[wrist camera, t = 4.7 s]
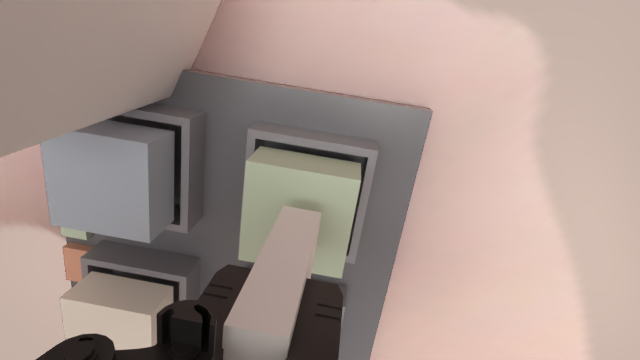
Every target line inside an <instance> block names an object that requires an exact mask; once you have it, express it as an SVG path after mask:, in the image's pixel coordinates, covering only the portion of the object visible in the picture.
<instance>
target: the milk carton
mask: <svg viewBox="0 0 640 360" xmlns="http://www.w3.org/2000/svg"><path fill="white" fill-rule="evenodd" d="M221 1H222V0H0V157H2V156H5V155H8V154H11V153H13V152H16V151H19V150H22V149H25V148H27V147H30V146H33V145H36V144H39V143H41V142H44V141H47V140H50V139H53V138H56V137H58V136H61V135H64V134H67V133H70V132H72V131H75V130H78V129H81V128H84V127H87V126H89V125H92V124H95V123H98V122H101V121H103V120H106V119H109V118H112V117H115V116H117V115H120V114H123V113H126V112H129V111H132V110H134V109H137V108H140V107H143V106H146V105H148V104H151V103H154V102H157V101H160V100H162V99H165V98H168V97H170V96H171V95H172V93H173V91H174V88H175V86H176V84H177V82H178V80H179V77H180V75H181V73H182V71H183V70H190V69H191V68H192V66H193V64H194V61H195V59H196V57H197V55H198V53H199V50H200V48H201V46H202V44H203V41H204V39H205V37H206V35H207V33H208V30H209V28H210V26H211V24H212V21H213V19H214V17H215V15H216V12H217V10H218V8H219V6H220V3H221Z"/></svg>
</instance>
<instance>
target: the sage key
mask: <svg viewBox="0 0 640 360" xmlns="http://www.w3.org/2000/svg"><path fill="white" fill-rule="evenodd" d="M360 184H361V163H357V162H351V161H345V160H339V159H333V158H328V157H322V156H316V155H310V154H304V153H298V152H292V151H287V150H281V149H275V148H269V147H263V146H260V147H259V148H258V149H257V150H256V151H255V152H254V153H253V154H252V155H251V156H250V157H249V158H248V159H247V160H246V167H245V179H244V192H243V205H242V217H241V230H240V242H239V255H238V260H243V261H248V262H254V263H255V262H256V260H257V258H258V256H259V254H260V252H261V250H262V248H263V246H264V244H265V242H266V240H267V238H268V236H269V234H270V232H271V230H272V228H273V226H274V224H275V222H276V220H277V218H278V216H279V214H280V212H281V210H282V208H283V206H288V207H294V208H299V209H305V210H310V211H316V212H321V213H322V214H321V220H320V226H319V232H318V238H317V244H316V250H315V256H314V262H313V268H312V273H313V274H319V275H324V276H330V277H335V278H340V279H342V274H343V269H344V264H345V259H346V254H347V249H348V244H349V239H350V234H351V229H352V224H353V219H354V214H355V209H356V204H357V199H358V194H359V189H360Z"/></svg>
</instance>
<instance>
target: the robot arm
mask: <svg viewBox="0 0 640 360" xmlns="http://www.w3.org/2000/svg"><path fill="white" fill-rule="evenodd" d="M321 214H322V213H321V212H316V211H310V210H305V209H299V208H294V207H288V206H283V208H282V210H281V212H280V214H279V216H278V218H277V220H276V222H275V224H274V226H273V228H272V230H271V232H270V234H269V236H268V238H267V240H266V242H265V244H264V246H263V248H262V250H261V252H260V254H259V256H258V258H257V260H256V262H255V264H254V266H253V268H252V269H251V268H246V267H240V266H235V265H230V264H228V265H226V266H225V267H223V268H222V269H220V270H219V271H217V272H216V273H215V274H214V276H213V277H212V279H211V281H210V282H209V285H207V287H206V288H205V290H204V291H203V294H201V296H200V297H199V299H198V300H183V301H177V302H174V303H172V304H170V305H168V306H165V307H164V308H163V309H162V310H161V311H159V312H158V313H157V344H156V345H154V346H151V347H146V348H140V349H126V350H115V347H114V343H113V341H112V340H111V339H109V338H108V337H107V336H104V335H100V334H96V333H94V334H82V335H78V336H75V337H71V338H69V339H67V340H65V341H63V342H61V343H59V344H58V345H56V346H55V347H53V348H52V349H50V350H49V351H47V352H46V353H45V354H43V355H42V356H40V357H39V358H38V359H36V360H338V357H339V345H340V333H341V319H342V308H343V294H342V292H341V290H340V288H339V286H338V284H334V283H329V282H324V281H319V280H314V279H310V278H311V274H312V268H313V262H314V256H315V250H316V244H317V238H318V232H319V226H320V220H321Z"/></svg>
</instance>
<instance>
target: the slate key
mask: <svg viewBox="0 0 640 360" xmlns="http://www.w3.org/2000/svg"><path fill="white" fill-rule="evenodd" d="M174 136H175V131H169V130H164V129H158V128H152V127H146V126H140V125H134V124H128V123H123V122H117V121H111V120H103V121H101V122H98V123H95V124H92V125H89V126H87V127H84V128H81V129H78V130H75V131H72V132H70V133H67V134H64V135H61V136H58V137H56V138H53V139H50V140H47V141H44V142H41V143H40V144H41V152H42V160H43V168H44V176H45V184H46V192H47V200H48V208H49V216H50V224H51V225H53V226H58V227H64V228H69V229H74V230H80V231H85V232H91V233H96V234H102V235H107V236H112V237H118V238H123V239H129V240H134V241H140V242H145V243H150V242H152V241H153V240H154V239H155V238H156V237H157V236H158V235H159V234H160V233H161V232H162V231H163V230H164V229H165V228H166V227H167V226H168V225H170V224H171V223H172V222H173V221H174Z"/></svg>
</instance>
